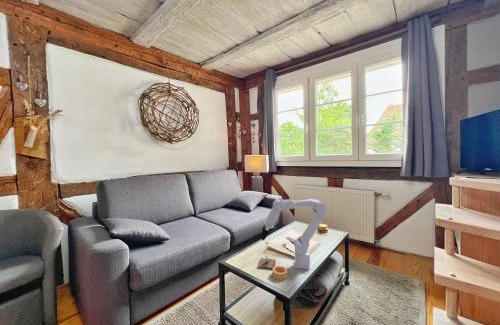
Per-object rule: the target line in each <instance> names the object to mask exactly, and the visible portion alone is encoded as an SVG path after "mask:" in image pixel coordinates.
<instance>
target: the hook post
mask: <svg viewBox="0 0 500 325" xmlns="http://www.w3.org/2000/svg"><path fill="white" fill-rule="evenodd" d="M265 259H266V263H267V264H268V263H269V259H270V257H269V256H268V255H265Z"/></svg>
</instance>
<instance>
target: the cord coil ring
mask: <svg viewBox="0 0 500 325" xmlns="http://www.w3.org/2000/svg"><path fill="white" fill-rule="evenodd" d="M272 277H273V278H274V279H275V280H279V281H284V280H286V279H287V278H288V268H287V267H285V266H283V265H275V267H273V270H272Z"/></svg>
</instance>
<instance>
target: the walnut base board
mask: <svg viewBox="0 0 500 325" xmlns="http://www.w3.org/2000/svg"><path fill="white" fill-rule="evenodd" d="M276 263H277V260H276V259H274V258H269V263H268V264H267V263H266V257H265V258H263V257H260V260H259V264H258V265H257V266H258V267H257V268H258V269H263V270H272V271H273V267H275V266H276Z"/></svg>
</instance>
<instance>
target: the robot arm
mask: <svg viewBox="0 0 500 325" xmlns="http://www.w3.org/2000/svg"><path fill="white" fill-rule="evenodd" d="M296 207H310V208H311V210H312V211H313V214H314V216H313V218H312V219H311V221H310V222H309V224H308V226H307V227H306V229H304V231H303V233H302V234H301V235H300V236H298V238H297V239H294V240H295V241H294V246H295V253H294V261H293V267H294V269H300V270H311V269H310V268H311V266H310V265H311V259H310V254H311V253H310V252H308V249H309V247H310V241H311V239H312V237H314V235H315V233H316V231H317V230H318V228H319V226H320V225H321V224H322V223H323V221H324V219H325V216H326V214H325V213H326V211H327V207H326V205H325V203H324V202H321V201H320V200H318V199H317V198H307V199H301V200H300V199H299V200H294V199H292V198H288V199H282V198H281V199H275V200H274V201H273V202H272V207H271V209H270V211H269V213H268V215H267V218H266V220H265V221H263V224H264V226H262V228H261V230H262V231H261V235H260V236H261V237H260V240H262V241H265V240H266V238H267V237H268V236H269V234H271V232H272V231H271V230H273V229H274V226H275V224H276V222H277V220H278V217H279V215H280V213H281V212H282V211H283V210H292V209H293V210H294V209H295V208H296Z"/></svg>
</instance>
